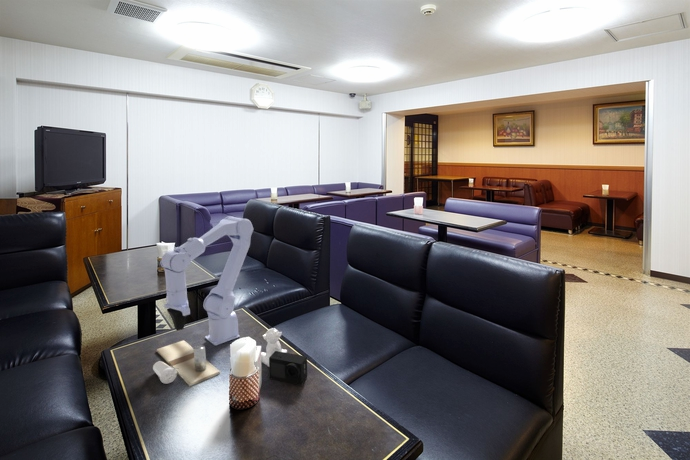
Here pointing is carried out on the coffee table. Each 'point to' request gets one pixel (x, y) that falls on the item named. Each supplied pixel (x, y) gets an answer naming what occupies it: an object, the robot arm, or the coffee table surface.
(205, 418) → the coffee table surface
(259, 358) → the ink cartridge box
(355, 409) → the coffee table surface
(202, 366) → the steel peg
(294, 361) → the digital camera
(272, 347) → the seated beast figurine
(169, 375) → the white rounded piece
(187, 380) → the plywood panel
